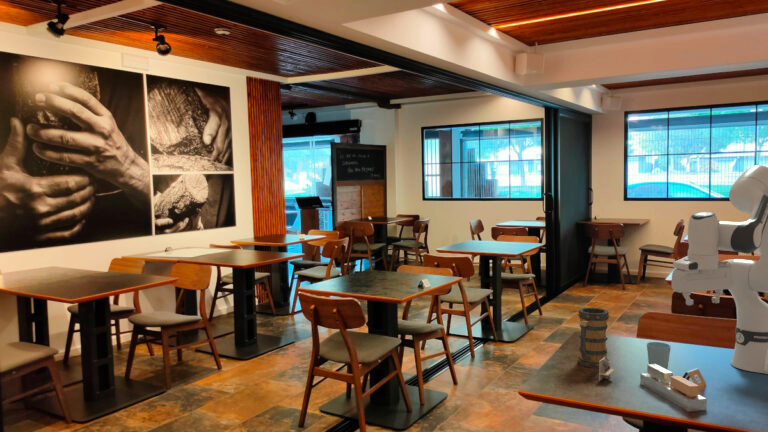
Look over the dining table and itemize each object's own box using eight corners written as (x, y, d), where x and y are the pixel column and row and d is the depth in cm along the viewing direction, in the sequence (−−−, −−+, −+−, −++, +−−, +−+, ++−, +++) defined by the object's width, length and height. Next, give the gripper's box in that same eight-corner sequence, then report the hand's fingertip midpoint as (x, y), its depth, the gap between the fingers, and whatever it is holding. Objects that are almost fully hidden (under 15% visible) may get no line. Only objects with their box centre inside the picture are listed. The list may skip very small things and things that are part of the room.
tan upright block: (678, 397, 183) (679, 375, 182) (698, 408, 174) (699, 385, 173) (670, 398, 182) (670, 376, 182) (689, 409, 173) (689, 386, 173)
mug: (616, 362, 218) (617, 310, 217) (598, 374, 205) (599, 318, 204) (583, 355, 227) (583, 305, 225) (564, 366, 214) (564, 313, 213)
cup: (675, 375, 203) (675, 346, 202) (659, 378, 200) (659, 349, 199) (657, 369, 210) (657, 340, 209) (641, 372, 207) (642, 343, 206)
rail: (656, 382, 196) (656, 362, 196) (706, 410, 172) (706, 387, 172) (640, 383, 195) (640, 363, 195) (688, 411, 172) (688, 388, 171)
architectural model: (614, 379, 201) (614, 358, 200) (608, 385, 195) (608, 363, 195) (604, 377, 203) (604, 357, 202) (597, 383, 198) (598, 362, 197)
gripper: (724, 258, 193) (723, 299, 195) (668, 262, 190) (668, 304, 191) (738, 261, 187) (738, 303, 188) (681, 265, 184) (681, 308, 185)
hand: (702, 303), depth 190 cm, fingers open, 8 cm apart
